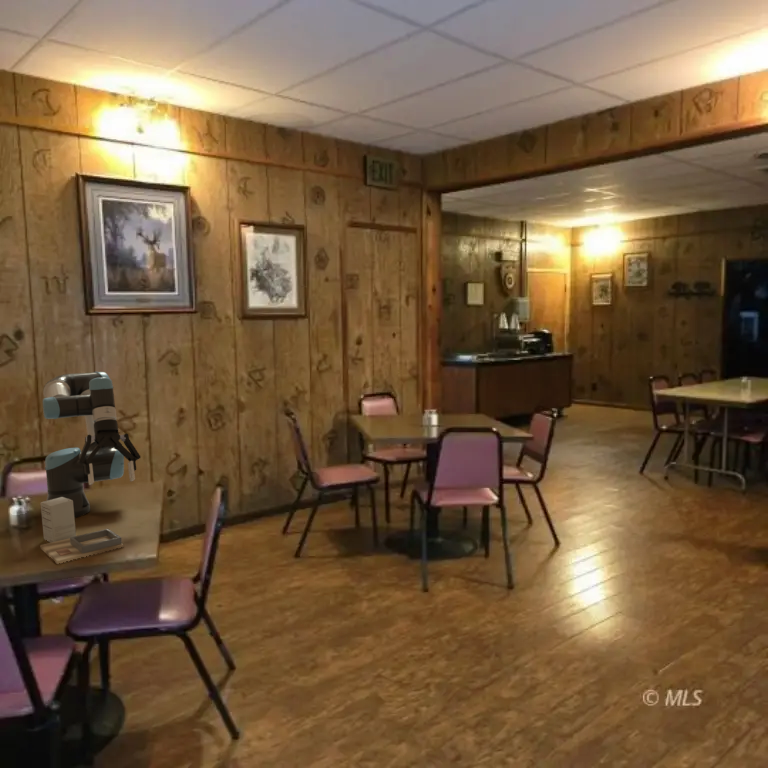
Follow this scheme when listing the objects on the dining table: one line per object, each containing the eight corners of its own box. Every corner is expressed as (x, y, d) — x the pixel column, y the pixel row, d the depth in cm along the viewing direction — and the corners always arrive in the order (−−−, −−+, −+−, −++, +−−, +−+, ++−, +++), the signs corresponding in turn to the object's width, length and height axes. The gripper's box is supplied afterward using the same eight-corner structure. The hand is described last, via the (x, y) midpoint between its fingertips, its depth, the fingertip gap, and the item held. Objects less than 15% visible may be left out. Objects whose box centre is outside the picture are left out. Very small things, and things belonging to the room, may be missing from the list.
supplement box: (66, 533, 215) (63, 496, 214) (76, 537, 210) (73, 500, 209) (43, 539, 209) (39, 501, 208) (53, 544, 205) (50, 505, 203)
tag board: (40, 548, 202) (40, 544, 201) (103, 533, 214) (103, 529, 214) (57, 564, 188) (57, 559, 188) (123, 547, 201) (123, 543, 201)
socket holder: (70, 543, 202) (69, 537, 202) (108, 534, 210) (108, 528, 209) (82, 553, 193) (81, 547, 193) (121, 543, 201) (121, 537, 201)
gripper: (70, 418, 211) (77, 482, 206) (145, 417, 229) (153, 476, 223) (63, 425, 216) (69, 488, 211) (136, 424, 234) (144, 481, 228)
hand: (112, 482), depth 217 cm, fingers open, 13 cm apart
